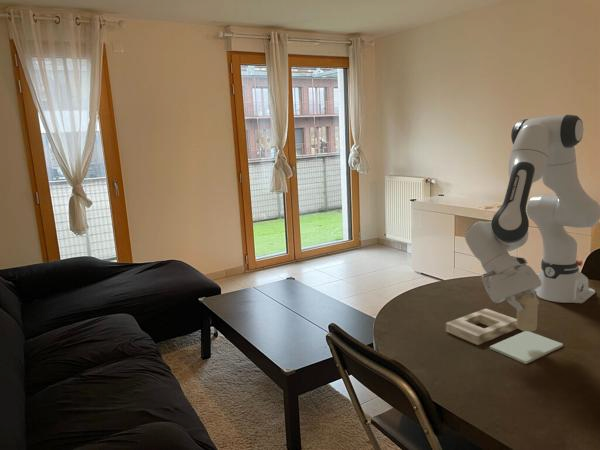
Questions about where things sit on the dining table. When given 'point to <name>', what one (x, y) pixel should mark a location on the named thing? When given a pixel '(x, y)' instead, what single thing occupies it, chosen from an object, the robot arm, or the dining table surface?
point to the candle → (527, 314)
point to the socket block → (476, 334)
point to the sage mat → (526, 346)
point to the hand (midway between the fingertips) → (529, 307)
